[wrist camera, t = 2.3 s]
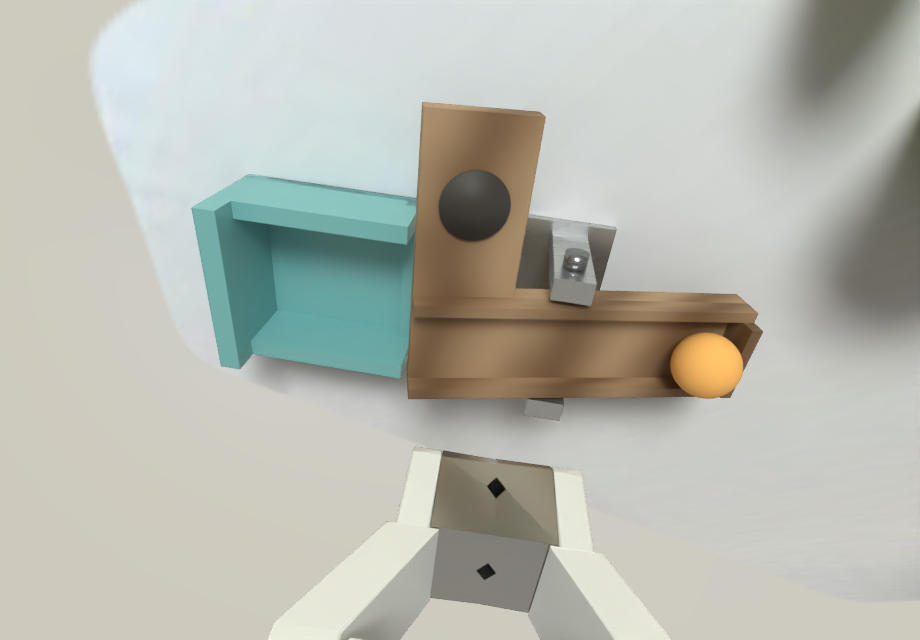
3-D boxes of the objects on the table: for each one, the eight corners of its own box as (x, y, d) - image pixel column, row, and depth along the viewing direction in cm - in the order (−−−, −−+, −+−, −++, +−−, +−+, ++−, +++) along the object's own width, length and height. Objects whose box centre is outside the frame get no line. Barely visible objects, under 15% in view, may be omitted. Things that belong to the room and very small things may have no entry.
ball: (736, 323, 28) (767, 362, 25) (713, 374, 30) (739, 415, 27) (673, 317, 28) (696, 355, 25) (654, 368, 30) (673, 408, 27)
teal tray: (424, 199, 30) (400, 239, 25) (415, 339, 35) (394, 395, 30) (248, 174, 31) (191, 207, 26) (265, 315, 36) (220, 366, 31)
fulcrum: (616, 223, 29) (633, 274, 24) (576, 367, 35) (582, 435, 29) (529, 211, 30) (526, 258, 24) (503, 355, 35) (496, 421, 30)
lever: (807, 134, 24) (853, 150, 22) (700, 374, 32) (726, 405, 29) (422, 102, 21) (427, 116, 19) (406, 374, 29) (408, 409, 26)
